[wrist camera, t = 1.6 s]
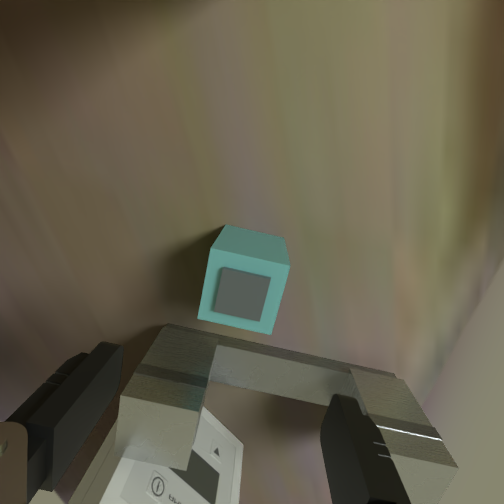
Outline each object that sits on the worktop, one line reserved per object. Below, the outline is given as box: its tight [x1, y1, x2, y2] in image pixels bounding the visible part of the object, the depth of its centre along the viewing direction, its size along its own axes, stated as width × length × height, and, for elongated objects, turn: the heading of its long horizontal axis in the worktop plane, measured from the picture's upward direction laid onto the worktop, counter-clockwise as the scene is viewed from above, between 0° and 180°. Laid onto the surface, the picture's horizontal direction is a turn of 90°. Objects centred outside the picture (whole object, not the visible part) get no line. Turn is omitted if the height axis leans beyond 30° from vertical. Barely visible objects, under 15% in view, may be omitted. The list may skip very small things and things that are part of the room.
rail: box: [114, 324, 459, 504], centre depth 24 cm, size 5×22×10 cm, turn 77°
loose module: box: [197, 225, 290, 335], centre depth 22 cm, size 5×5×7 cm
